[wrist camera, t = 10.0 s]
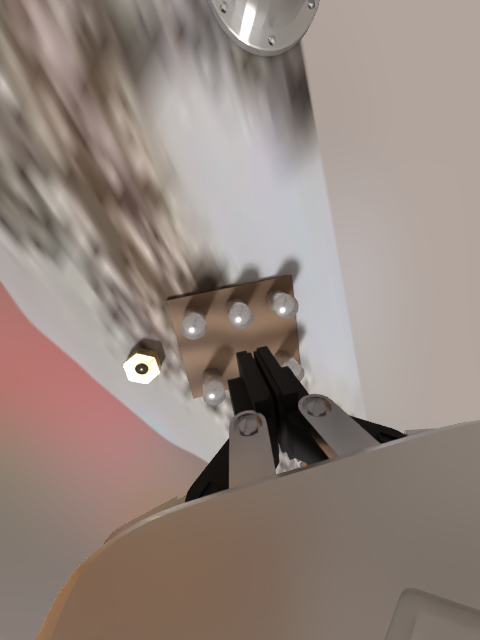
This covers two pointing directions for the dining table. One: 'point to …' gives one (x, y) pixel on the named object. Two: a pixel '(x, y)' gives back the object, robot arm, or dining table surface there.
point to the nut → (142, 365)
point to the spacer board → (232, 330)
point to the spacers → (240, 319)
